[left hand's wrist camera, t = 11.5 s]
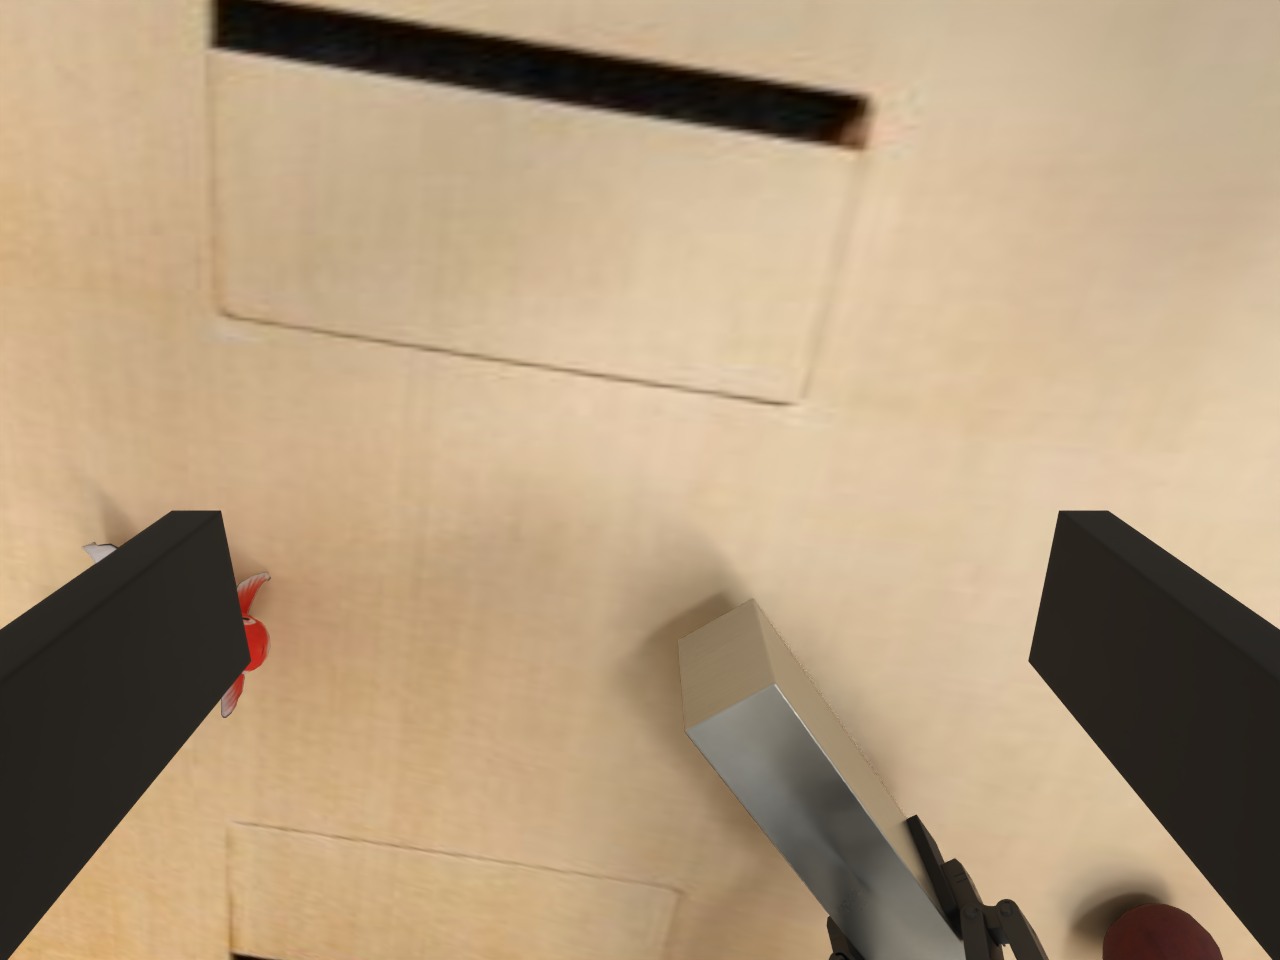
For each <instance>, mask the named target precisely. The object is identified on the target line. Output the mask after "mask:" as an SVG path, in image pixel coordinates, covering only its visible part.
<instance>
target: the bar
mask: <svg viewBox="0 0 1280 960" xmlns="http://www.w3.org/2000/svg"><path fill="white" fill-rule="evenodd" d="M678 653H679V665H680V678H681V691H682V703H683V716H684V729H685V733H686V734H687V735H688V737H689V738H690V739H691V740H692V742H693V743H694V744H695V745H696V747H697V748H698V749H699V750H700V752H701V753H702V754H703V756H704V757H705V758H706V759H707V761H708V762H709V763H710V764H711V766H712V767H713V768H714V769H715V771H716V772H717V773H718V775H719V776H720V777H721V778H722V780H723V781H724V782H725V783H726V785H727V786H728V787H729V789H730V790H731V791H732V792H733V794H734V795H735V796H736V797H737V799H738V800H739V801H740V802H741V804H742V805H743V806H744V808H745V809H746V810H747V811H748V813H749V814H750V815H751V816H752V818H753V819H754V820H755V821H756V823H757V824H758V825H759V827H760V828H761V829H762V830H763V832H764V833H765V834H766V835H767V837H768V838H769V839H770V840H771V842H772V843H773V844H774V846H775V847H776V848H777V849H778V851H779V852H780V853H781V854H782V856H783V857H784V858H785V859H786V861H787V862H788V863H789V865H790V866H791V867H792V868H793V870H794V871H795V872H796V873H797V875H798V876H799V877H800V878H801V880H802V881H803V882H804V884H805V885H806V886H807V887H808V889H809V890H810V891H811V892H812V894H813V895H814V896H815V897H816V899H817V900H818V901H819V903H820V904H821V905H822V906H823V908H824V909H825V910H826V911H827V913H828V914H829V915H830V917H831V918H832V919H833V920H834V922H835V923H836V924H837V925H838V927H839V928H840V929H841V930H842V932H843V933H844V934H845V936H846V937H847V938H848V939H849V941H850V942H851V943H852V944H853V946H854V947H855V948H856V949H857V951H858V952H859V953H860V955H861V956H862V957H863V958H864V960H966V957H965V950H964V943H963V937H962V936H961V935H960V933H959V932H958V930H957V929H956V928H955V926H954V925H953V923H952V922H951V921H950V919H949V918H948V916H947V915H946V914H945V912H944V911H943V909H942V906H941V904H940V901H939V899H938V897H937V894H936V892H935V889H934V887H933V884H932V882H931V879H930V877H929V875H928V872H927V870H926V867H925V865H924V862H923V860H922V858H921V855H920V853H919V850H918V848H917V845H916V843H915V840H914V838H913V836H912V833H911V831H910V828H909V826H908V823H907V821H906V819H907V818H906V817H905V815H904V814H903V812H902V811H901V809H900V808H899V806H898V805H897V804H896V802H895V801H894V799H893V798H892V796H891V795H890V794H889V792H888V791H887V789H886V788H885V786H884V785H883V784H882V782H881V781H880V779H879V778H878V776H877V775H876V773H875V772H874V771H873V769H872V768H871V766H870V765H869V763H868V762H867V761H866V759H865V758H864V756H863V755H862V753H861V752H860V751H859V749H858V748H857V746H856V745H855V743H854V742H853V740H852V739H851V738H850V736H849V735H848V733H847V732H846V730H845V729H844V728H843V726H842V725H841V723H840V722H839V720H838V719H837V718H836V716H835V715H834V713H833V712H832V710H831V709H830V707H829V706H828V705H827V703H826V702H825V700H824V699H823V697H822V696H821V695H820V693H819V692H818V690H817V689H816V687H815V686H814V685H813V683H812V682H811V680H810V679H809V677H808V676H807V675H806V673H805V672H804V670H803V669H802V667H801V666H800V664H799V663H798V662H797V660H796V659H795V657H794V656H793V654H792V653H791V652H790V650H789V649H788V647H787V646H786V644H785V643H784V642H783V640H782V639H781V637H780V636H779V634H778V633H777V631H776V630H775V629H774V627H773V626H772V624H771V623H770V621H769V620H768V619H767V617H766V616H765V614H764V613H763V611H762V610H761V609H760V607H759V606H758V604H757V603H756V601H755V600H754V599H753V598H752V599H750V600H748V601H747V602H745V603H743V604H741V605H740V606H738V607H736V608H734V609H732V610H731V611H729V612H727V613H725V614H724V615H722V616H720V617H718V618H716V619H715V620H713V621H711V622H709V623H708V624H706V625H704V626H702V627H700V628H699V629H697V630H695V631H693V632H692V633H690V634H688V635H686V636H684V637H683V638H681V639H679V640H678Z"/></svg>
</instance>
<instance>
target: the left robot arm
mask: <svg viewBox="0 0 1280 960" xmlns="http://www.w3.org/2000/svg"><path fill="white" fill-rule="evenodd" d="M250 663H251V656H250V651H249V646H248V641H247V636H246V631H245V626H244V622H243V617H242V612H241V607H240V602H239V597H238V592H237V587H236V582H235V577H234V572H233V568H232V563H231V558H230V553H229V548H228V543H227V538H226V533H225V528H224V523H223V519H222V514H221V511H171V512H169V513H168V514H166V515H165V516H164V517H162V518H161V519H159V520H158V521H156V522H155V523H153V524H152V525H151V526H149V527H148V528H146V529H145V530H143V531H142V532H140V533H139V534H138V535H136V536H135V537H133V538H132V539H130V540H129V541H128V542H126V543H125V544H123V545H122V546H120V547H119V548H117V549H116V550H115V551H113V552H112V553H110V554H109V555H107V556H106V557H104V558H103V559H102V560H100V561H99V562H97V563H96V564H94V565H93V566H91V567H90V568H89V569H87V570H86V571H84V572H83V573H81V574H80V575H78V576H77V577H76V578H74V579H73V580H71V581H70V582H68V583H67V584H66V585H64V586H63V587H61V588H60V589H58V590H57V591H55V592H54V593H53V594H51V595H50V596H48V597H47V598H45V599H44V600H42V601H41V602H40V603H38V604H37V605H35V606H34V607H32V608H31V609H29V610H28V611H27V612H25V613H24V614H22V615H21V616H19V617H18V618H16V619H15V620H14V621H12V622H11V623H9V624H8V625H6V626H5V627H4V628H2V629H1V630H0V960H8V959H9V957H10V956H11V955H12V954H13V952H14V951H15V950H16V949H17V948H18V946H19V945H20V944H21V943H22V941H23V940H24V939H25V938H26V937H27V935H28V934H29V933H30V932H31V930H32V929H33V928H34V927H35V926H36V924H37V923H38V922H39V921H40V919H41V918H42V917H43V916H44V914H45V913H46V912H47V911H48V910H49V908H50V907H51V906H52V905H53V903H54V902H55V901H56V900H57V899H58V897H59V896H60V895H61V894H62V892H63V891H64V890H65V889H66V888H67V886H68V885H69V884H70V883H71V881H72V880H73V879H74V878H75V877H76V875H77V874H78V873H79V872H80V870H81V869H82V868H83V867H84V866H85V864H86V863H87V862H88V861H89V859H90V858H91V857H92V856H93V855H94V853H95V852H96V851H97V850H98V848H99V847H100V846H101V845H102V844H103V842H104V841H105V840H106V839H107V837H108V836H109V835H110V834H111V833H112V831H113V830H114V829H115V828H116V826H117V825H118V824H119V823H120V822H121V820H122V819H123V818H124V817H125V815H126V814H127V813H128V812H129V811H130V809H131V808H132V807H133V806H134V804H135V803H136V802H137V801H138V800H139V798H140V797H141V796H142V795H143V793H144V792H145V791H146V790H147V789H148V787H149V786H150V785H151V784H152V782H153V781H154V780H155V779H156V777H157V776H158V775H159V774H160V773H161V771H162V770H163V769H164V768H165V766H166V765H167V764H168V763H169V762H170V760H171V759H172V758H173V757H174V755H175V754H176V753H177V752H178V751H179V749H180V748H181V747H182V746H183V744H184V743H185V742H186V741H187V740H188V738H189V737H190V736H191V735H192V733H193V732H194V731H195V730H196V729H197V727H198V726H199V725H200V724H201V722H202V721H203V720H204V719H205V718H206V716H207V715H208V714H209V713H210V711H211V710H212V709H213V708H214V707H215V705H216V704H217V703H218V702H219V700H220V699H221V698H222V697H223V696H224V694H225V693H226V692H227V691H228V689H229V688H230V687H231V686H232V685H233V683H234V682H235V681H236V680H237V678H238V677H239V676H240V675H241V674H242V672H243V671H244V670H245V669H246V667H247V666H248V665H249V664H250ZM1029 663H1030V664H1031V665H1032V666H1033V667H1034V669H1035V670H1036V671H1037V672H1038V674H1039V675H1040V676H1041V677H1042V678H1043V680H1044V681H1045V682H1046V683H1047V685H1048V686H1049V687H1050V688H1051V689H1052V691H1053V692H1054V693H1055V694H1056V696H1057V697H1058V698H1059V699H1060V700H1061V702H1062V703H1063V704H1064V705H1065V707H1066V708H1067V709H1068V710H1069V711H1070V713H1071V714H1072V715H1073V716H1074V718H1075V719H1076V720H1077V721H1078V722H1079V724H1080V725H1081V726H1082V727H1083V729H1084V730H1085V731H1086V732H1087V733H1088V735H1089V736H1090V737H1091V738H1092V740H1093V741H1094V742H1095V743H1096V744H1097V746H1098V747H1099V748H1100V749H1101V751H1102V752H1103V753H1104V754H1105V755H1106V757H1107V758H1108V759H1109V760H1110V762H1111V763H1112V764H1113V765H1114V766H1115V768H1116V769H1117V770H1118V771H1119V773H1120V774H1121V775H1122V776H1123V777H1124V779H1125V780H1126V781H1127V782H1128V784H1129V785H1130V786H1131V787H1132V789H1133V790H1134V791H1135V792H1136V793H1137V795H1138V796H1139V797H1140V798H1141V800H1142V801H1143V802H1144V803H1145V804H1146V806H1147V807H1148V808H1149V809H1150V811H1151V812H1152V813H1153V814H1154V815H1155V817H1156V818H1157V819H1158V820H1159V822H1160V823H1161V824H1162V825H1163V826H1164V828H1165V829H1166V830H1167V831H1168V833H1169V834H1170V835H1171V836H1172V837H1173V839H1174V840H1175V841H1176V842H1177V844H1178V845H1179V846H1180V847H1181V848H1182V850H1183V851H1184V852H1185V853H1186V855H1187V856H1188V857H1189V858H1190V859H1191V861H1192V862H1193V863H1194V864H1195V866H1196V867H1197V868H1198V869H1199V870H1200V872H1201V873H1202V874H1203V875H1204V877H1205V878H1206V879H1207V880H1208V881H1209V883H1210V884H1211V885H1212V886H1213V888H1214V889H1215V890H1216V891H1217V892H1218V894H1219V895H1220V896H1221V897H1222V899H1223V900H1224V901H1225V902H1226V903H1227V905H1228V906H1229V907H1230V908H1231V910H1232V911H1233V912H1234V913H1235V915H1236V916H1237V917H1238V918H1239V919H1240V921H1241V922H1242V923H1243V924H1244V926H1245V927H1246V928H1247V929H1248V930H1249V932H1250V933H1251V934H1252V935H1253V937H1254V938H1255V939H1256V940H1257V941H1258V943H1259V944H1260V945H1261V946H1262V948H1263V949H1264V950H1265V951H1266V952H1267V954H1268V955H1269V956H1270V957H1271V959H1272V960H1280V630H1279V629H1278V628H1276V627H1275V626H1274V625H1272V624H1271V623H1269V622H1268V621H1266V620H1265V619H1264V618H1262V617H1261V616H1259V615H1258V614H1256V613H1255V612H1253V611H1252V610H1251V609H1249V608H1248V607H1246V606H1245V605H1243V604H1242V603H1240V602H1239V601H1238V600H1236V599H1235V598H1233V597H1232V596H1230V595H1229V594H1227V593H1226V592H1225V591H1223V590H1222V589H1220V588H1219V587H1217V586H1216V585H1214V584H1213V583H1212V582H1210V581H1209V580H1207V579H1206V578H1204V577H1203V576H1202V575H1200V574H1199V573H1197V572H1196V571H1194V570H1193V569H1191V568H1190V567H1189V566H1187V565H1186V564H1184V563H1183V562H1181V561H1180V560H1178V559H1177V558H1176V557H1174V556H1173V555H1171V554H1170V553H1168V552H1167V551H1165V550H1164V549H1163V548H1161V547H1160V546H1158V545H1157V544H1155V543H1154V542H1152V541H1151V540H1150V539H1148V538H1147V537H1145V536H1144V535H1142V534H1141V533H1140V532H1138V531H1137V530H1135V529H1134V528H1132V527H1131V526H1129V525H1128V524H1127V523H1125V522H1124V521H1122V520H1121V519H1119V518H1118V517H1116V516H1115V515H1114V514H1112V513H1111V512H1109V511H1059V514H1058V519H1057V523H1056V528H1055V533H1054V538H1053V543H1052V548H1051V553H1050V558H1049V563H1048V568H1047V572H1046V577H1045V582H1044V587H1043V592H1042V597H1041V602H1040V607H1039V612H1038V617H1037V622H1036V626H1035V631H1034V636H1033V641H1032V646H1031V651H1030V656H1029Z"/></svg>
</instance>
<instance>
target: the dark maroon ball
mask: <svg viewBox="0 0 1280 960" xmlns="http://www.w3.org/2000/svg"><path fill="white" fill-rule="evenodd" d="M1103 960H1223V958H1222V955H1221V952H1220V949H1219V947H1218V945H1217V944H1216V942H1215V941H1214V939H1213V938H1212V936H1211V935H1210V933H1209V932H1208V931H1206V930H1205V929H1204V928H1203V927H1202V926H1201V925H1200V924H1199V923H1198V922H1197V921H1196V920H1195V919H1194V918H1193V917H1192V916H1191V915H1190V914H1188V913H1186V912H1184V911H1182V910H1181V909H1179V908H1176V907H1173V906H1169V905H1166V904H1144V905H1141V906H1137V907H1135V908H1132V909H1130V910H1128V911H1126V912H1125V913H1124V914H1123V915H1122V916H1121V917H1120V918H1119V919H1118V920H1117V921H1116V922H1114V923H1113V924H1112V925H1111V926H1110V927H1109V928H1108V931H1107V933H1106V935H1105V938H1104V942H1103Z"/></svg>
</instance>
